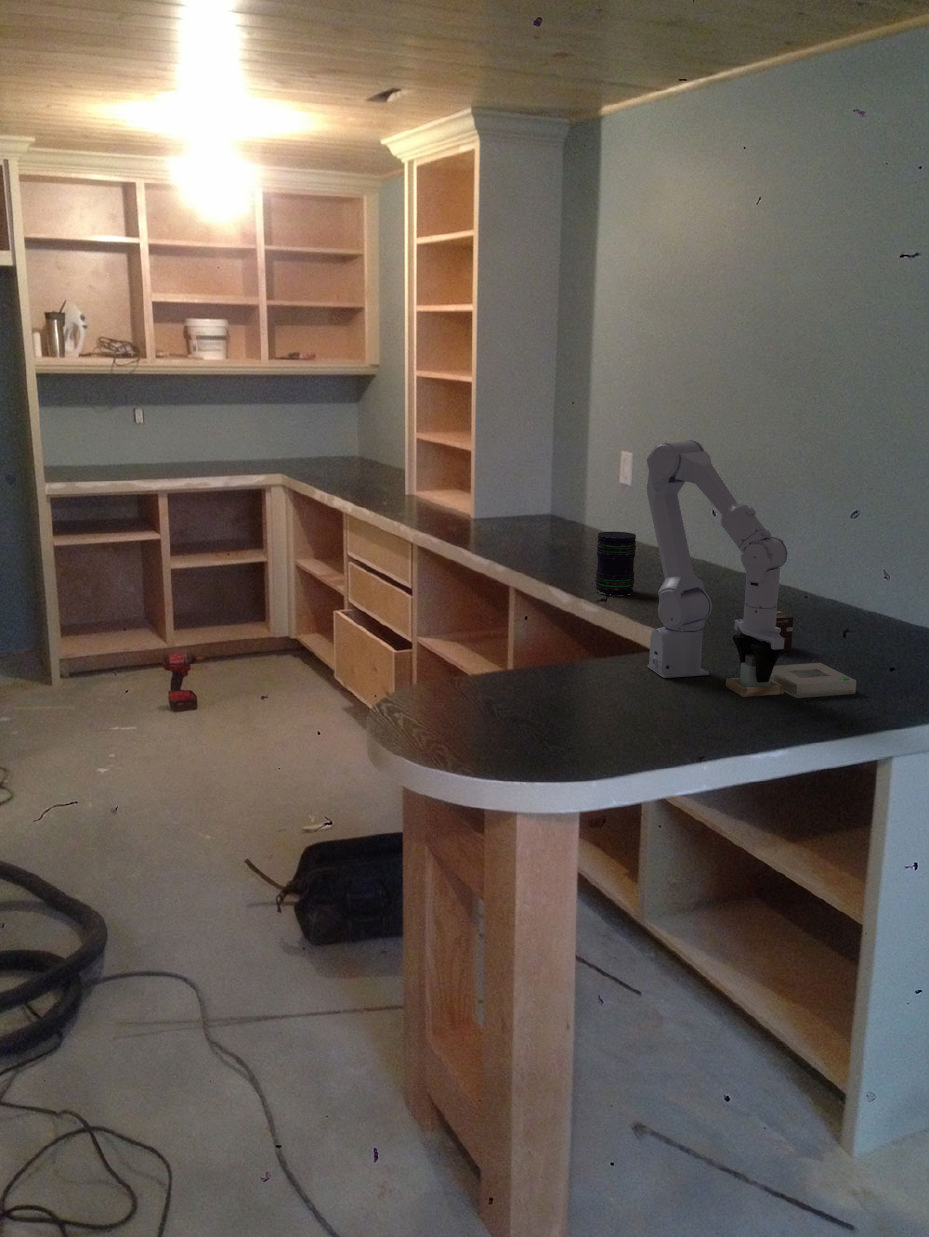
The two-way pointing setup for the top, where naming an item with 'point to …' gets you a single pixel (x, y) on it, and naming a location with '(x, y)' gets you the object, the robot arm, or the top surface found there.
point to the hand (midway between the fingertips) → (755, 677)
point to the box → (785, 628)
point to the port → (812, 680)
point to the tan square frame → (754, 688)
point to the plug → (750, 673)
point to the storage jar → (615, 562)
